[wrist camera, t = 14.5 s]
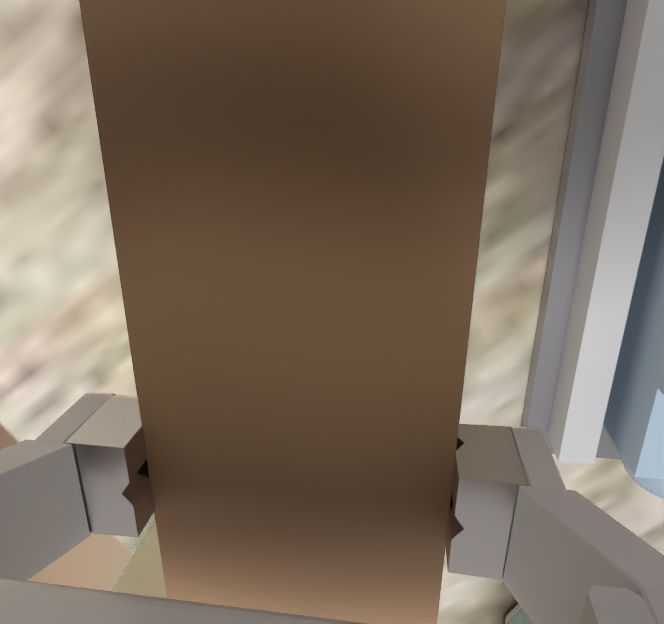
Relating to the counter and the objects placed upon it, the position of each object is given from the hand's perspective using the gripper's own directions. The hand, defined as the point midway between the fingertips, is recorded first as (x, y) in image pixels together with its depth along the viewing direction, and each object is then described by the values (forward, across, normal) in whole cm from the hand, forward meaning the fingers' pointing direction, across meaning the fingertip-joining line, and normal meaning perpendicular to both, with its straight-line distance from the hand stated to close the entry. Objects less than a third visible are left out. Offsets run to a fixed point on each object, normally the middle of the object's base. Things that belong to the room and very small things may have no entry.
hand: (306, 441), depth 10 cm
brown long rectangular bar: (+2, 0, +1) cm, 2 cm away
